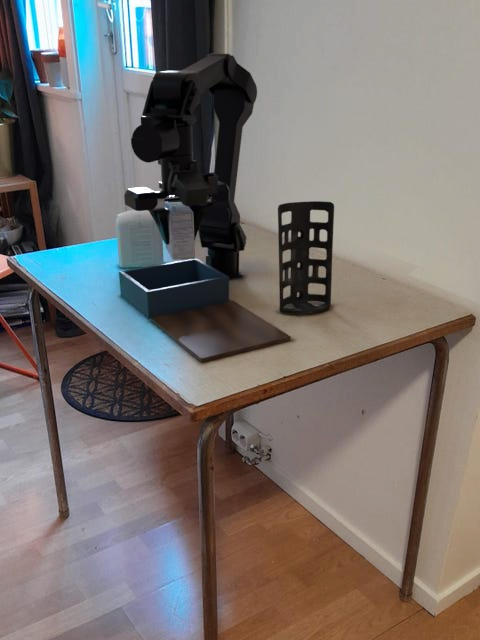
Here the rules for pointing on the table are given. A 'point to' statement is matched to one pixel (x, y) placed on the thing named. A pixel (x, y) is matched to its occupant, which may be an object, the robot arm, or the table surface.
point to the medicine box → (180, 231)
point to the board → (219, 330)
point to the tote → (173, 287)
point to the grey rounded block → (138, 240)
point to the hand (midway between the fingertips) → (179, 242)
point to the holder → (304, 256)
